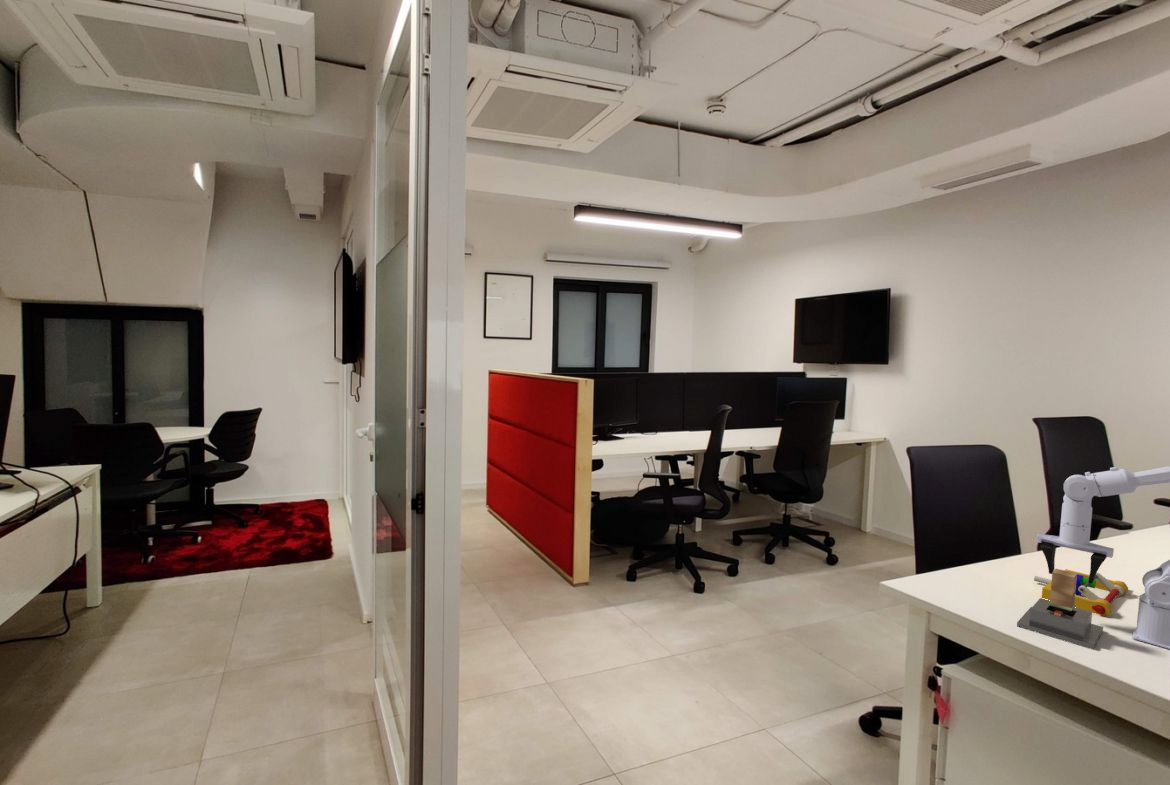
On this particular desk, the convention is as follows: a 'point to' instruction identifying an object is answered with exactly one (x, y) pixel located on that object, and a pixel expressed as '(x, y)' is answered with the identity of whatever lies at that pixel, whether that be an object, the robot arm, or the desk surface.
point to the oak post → (1063, 589)
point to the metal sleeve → (1062, 623)
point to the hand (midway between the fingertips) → (1070, 577)
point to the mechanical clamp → (1090, 592)
